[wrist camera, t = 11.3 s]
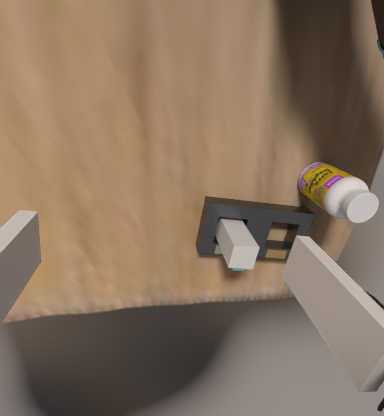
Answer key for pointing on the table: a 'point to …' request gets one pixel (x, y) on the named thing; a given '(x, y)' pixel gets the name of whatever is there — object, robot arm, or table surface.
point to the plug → (236, 243)
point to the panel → (253, 224)
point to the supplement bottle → (338, 192)
